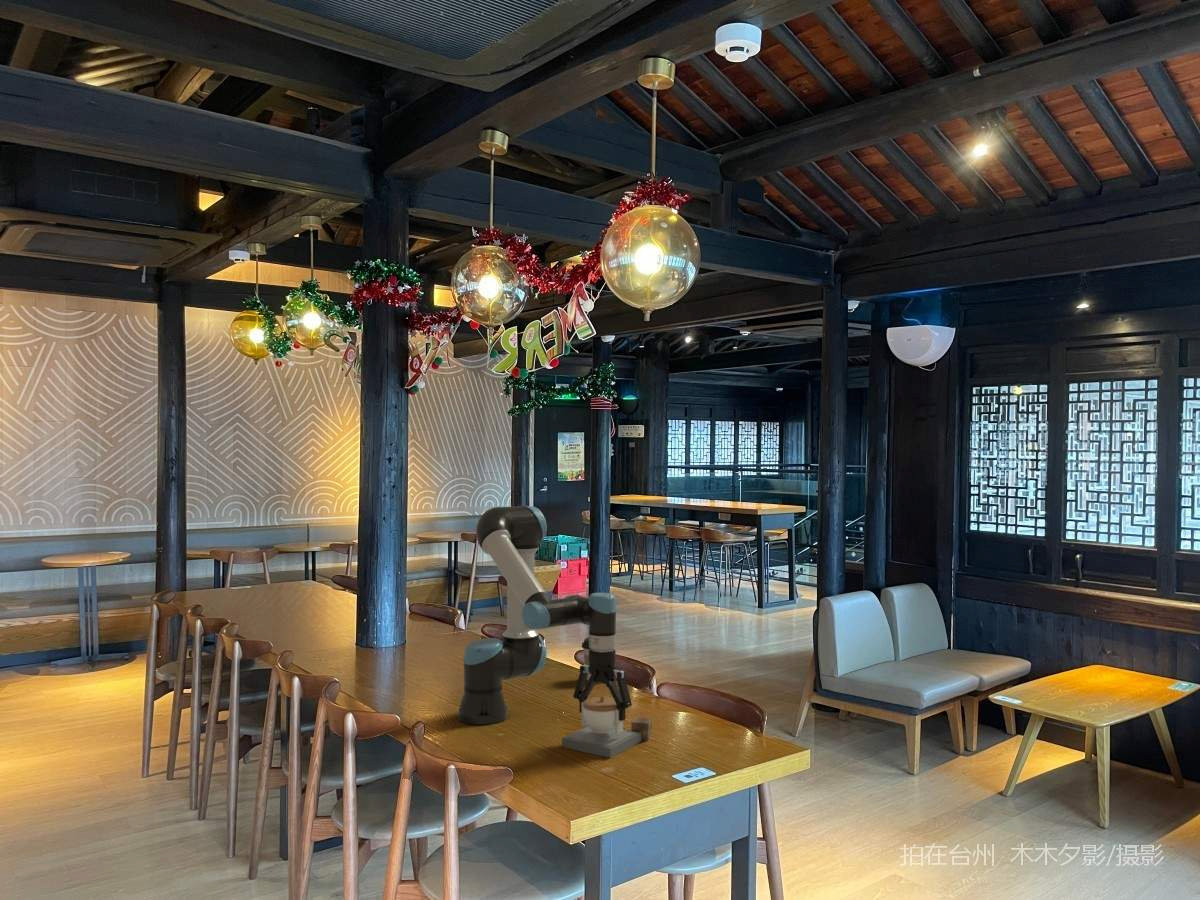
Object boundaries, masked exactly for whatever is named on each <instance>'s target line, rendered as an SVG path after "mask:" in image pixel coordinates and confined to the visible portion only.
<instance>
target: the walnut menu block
mask: <svg viewBox="0 0 1200 900" xmlns="http://www.w3.org/2000/svg"><path fill="white" fill-rule="evenodd" d="M630 723H631V724H630V731H635V732H640V733H641V741H645V742H649V740H651V738H652V736H653V718H650V717H640V716H639V717H638V716H634V718H633V719H632V720H631V722H630Z"/></svg>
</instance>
